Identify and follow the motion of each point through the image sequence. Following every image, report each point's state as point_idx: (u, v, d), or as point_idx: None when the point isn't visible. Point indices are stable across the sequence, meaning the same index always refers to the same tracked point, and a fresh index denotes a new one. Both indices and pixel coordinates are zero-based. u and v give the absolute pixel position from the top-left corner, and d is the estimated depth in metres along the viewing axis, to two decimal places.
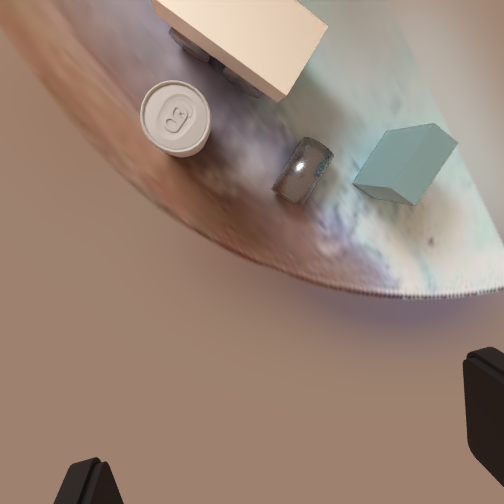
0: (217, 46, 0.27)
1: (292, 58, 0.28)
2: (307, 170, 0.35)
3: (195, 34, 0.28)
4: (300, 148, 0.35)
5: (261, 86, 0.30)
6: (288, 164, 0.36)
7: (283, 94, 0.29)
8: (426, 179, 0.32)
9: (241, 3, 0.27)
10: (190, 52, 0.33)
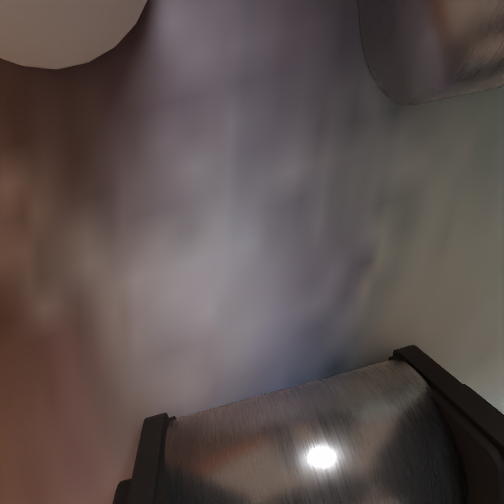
0: None
1: None
2: None
3: None
4: (383, 413, 0.08)
5: None
6: (296, 422, 0.08)
7: None
8: None
9: None
10: None
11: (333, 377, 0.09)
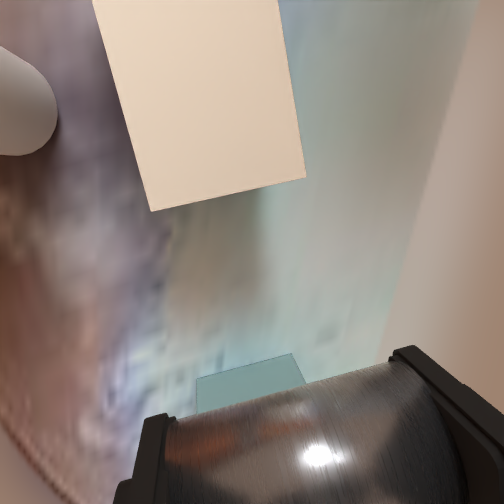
0: (99, 22, 0.12)
1: (210, 167, 0.13)
2: None
3: None
4: (383, 414, 0.08)
5: None
6: (296, 423, 0.08)
7: None
8: None
9: (199, 0, 0.12)
10: None
11: (333, 378, 0.09)
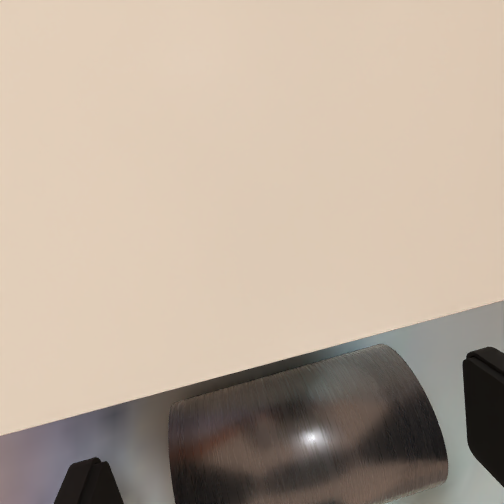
0: None
1: (275, 178, 0.02)
2: (330, 500, 0.08)
3: None
4: (367, 392, 0.09)
5: None
6: (287, 402, 0.09)
7: None
8: None
9: None
10: None
11: (323, 361, 0.10)
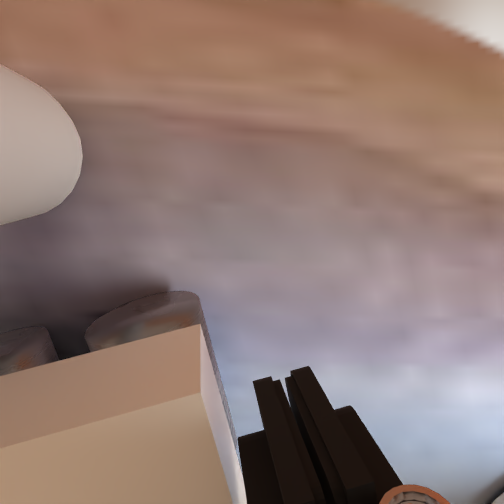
0: None
1: None
2: None
3: (45, 404, 0.08)
4: None
5: None
6: None
7: None
8: None
9: None
10: (146, 300, 0.14)
11: None
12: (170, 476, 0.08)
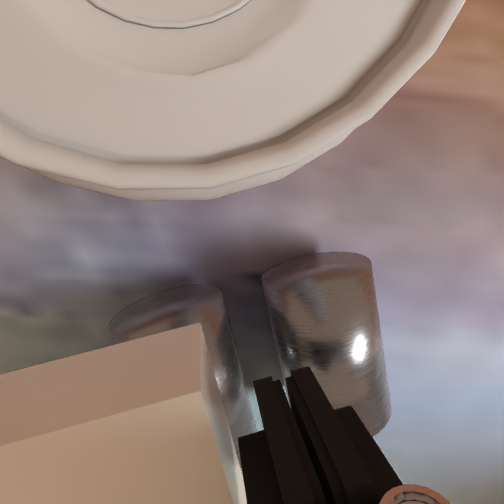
0: None
1: None
2: None
3: (45, 402, 0.08)
4: None
5: None
6: None
7: None
8: None
9: None
10: (300, 260, 0.15)
11: None
12: (171, 475, 0.08)
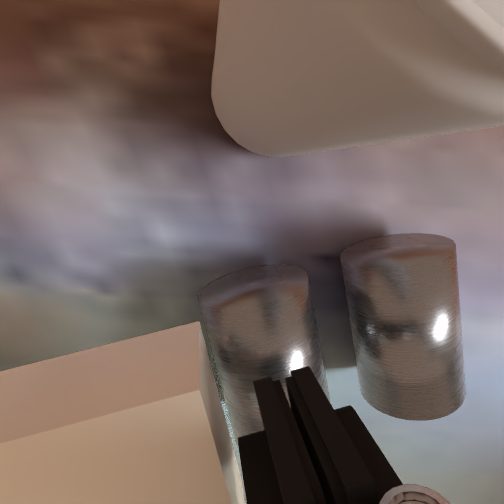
0: None
1: None
2: None
3: (42, 400, 0.08)
4: None
5: None
6: None
7: None
8: None
9: None
10: (372, 241, 0.15)
11: None
12: (168, 474, 0.08)
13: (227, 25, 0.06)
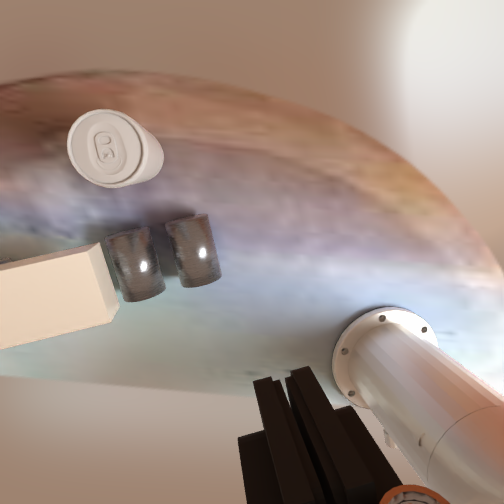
0: (12, 267, 0.27)
1: None
2: None
3: (44, 258, 0.28)
4: None
5: None
6: None
7: None
8: None
9: (27, 309, 0.28)
10: (185, 217, 0.35)
11: None
12: (80, 276, 0.28)
13: None
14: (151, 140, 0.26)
